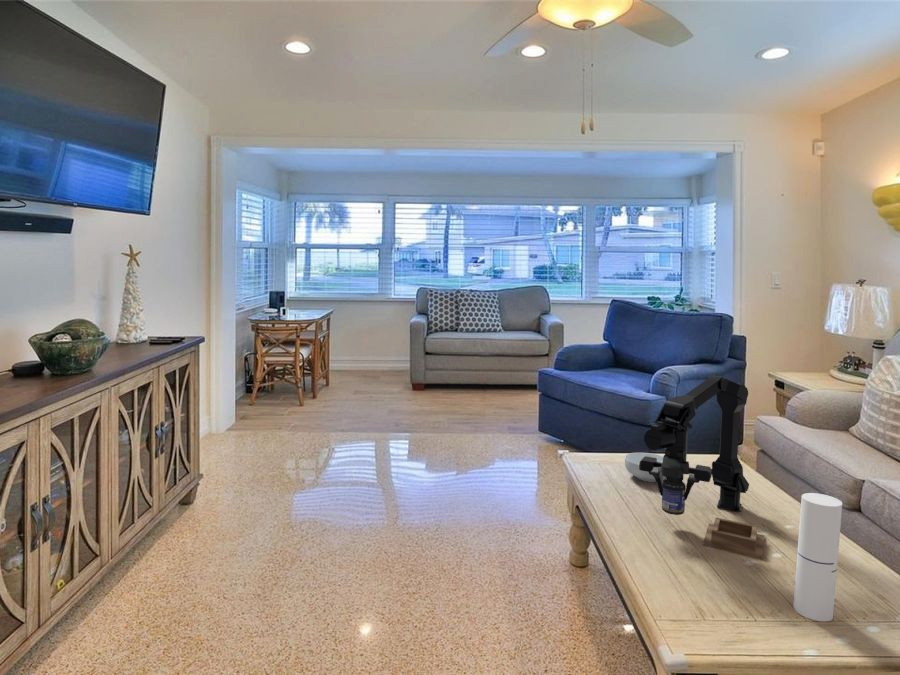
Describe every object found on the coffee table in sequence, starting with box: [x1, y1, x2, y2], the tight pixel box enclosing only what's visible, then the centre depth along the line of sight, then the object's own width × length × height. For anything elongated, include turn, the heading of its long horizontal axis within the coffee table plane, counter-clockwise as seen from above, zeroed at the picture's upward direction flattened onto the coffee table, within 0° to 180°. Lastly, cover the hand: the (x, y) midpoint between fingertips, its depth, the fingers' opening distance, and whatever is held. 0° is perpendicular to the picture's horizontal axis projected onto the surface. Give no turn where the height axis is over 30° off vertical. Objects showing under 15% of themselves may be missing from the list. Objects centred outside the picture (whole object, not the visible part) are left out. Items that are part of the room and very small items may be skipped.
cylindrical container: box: [792, 492, 843, 622], centre depth 118 cm, size 7×7×25 cm
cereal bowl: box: [624, 452, 667, 483], centre depth 198 cm, size 17×17×7 cm
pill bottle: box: [661, 474, 687, 516], centre depth 159 cm, size 6×6×11 cm
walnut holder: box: [702, 517, 765, 560], centre depth 151 cm, size 14×14×4 cm
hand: (673, 497), depth 159 cm, fingers closed on pill bottle, 6 cm apart
